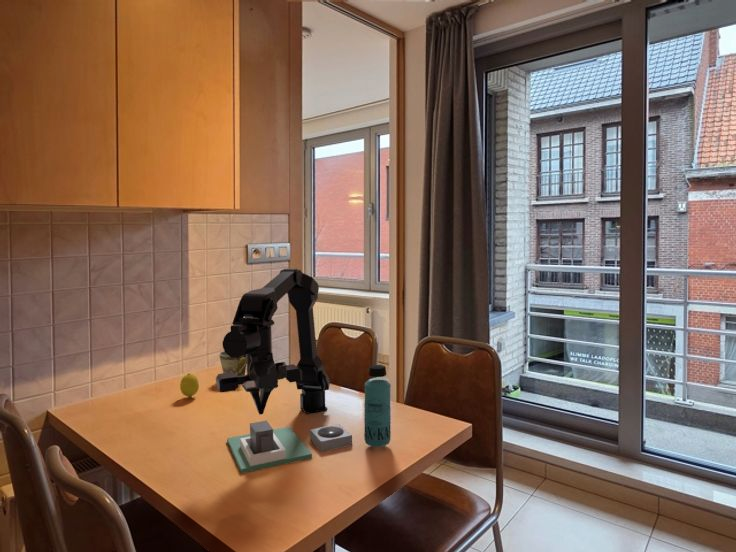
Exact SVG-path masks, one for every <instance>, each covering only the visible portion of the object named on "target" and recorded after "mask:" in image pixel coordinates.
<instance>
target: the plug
mask: <svg viewBox="0 0 736 552" xmlns="http://www.w3.org/2000/svg"><path fill="white" fill-rule="evenodd" d="M249 434H250V443H251V450H252V451H253V453H254V454H258V453H263V452H268V451H273V450H274V444H273V427H272V426H271V424H270V423H269V422H268V420H262V421H254V422H250V423H249Z"/></svg>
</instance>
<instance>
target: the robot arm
mask: <svg viewBox="0 0 736 552" xmlns="http://www.w3.org/2000/svg"><path fill="white" fill-rule="evenodd" d="M319 290H320V287H319V284H318V282H317V281H316V279H314V277H312V276H311V275H308V274H306V273H304V272H303V271H302V270H301V269H299V268H283V269H281V270H280V272H279V273H278V274H277V275H276V276H274V278H272V279H271V280H270V281H269V282H267V283H266V284H265V285H264V286H263V287H260V288H257V289H253V290H250V291H247V292H245V293H244V294H243V295H242V296H241V298H240V300H239V303H238V306H237V307H236V311H235V313H234V314H235V315H234V317H233V319H232V325H230V331H229V332H227V333H226V334H225V335H224V337H223V341H222V348H223V351H225V353H226V354H227V355H228V356H230V357H232V358H239V357H241V356H244V355H246V360H247V364H246V374H245V375H241V376H236V374H235V373H234V372H230V373H223V372H222V373H217V375H216V377H215V385H216V388H217V390H218V392H220V393H227V392H228V393H229V392H235V391H236V390H237V389H238V388H239V385H241V386H242V388H243V389H244V391H245V392H247V393H250V395H251V397H252V400H253V402H254V405H255V408H256V410H257V412H258V413H257V414H259V415H263V414H264V412H265V410H266V409H265V408H266V407H267V403H268V400H269V398H270V396H271V393H272V392H273V390H274V389H277V388H278V387H279V380H284V379H286V381H287V382H289V383H290V384H291V383H295V385H296V389H297V391H299V390H301V393H300V395H299V396H300V397H299V400H300V402H299V403H300V404H299V405H300V408H301V409H302V410H303V411H304V412H305V413H306V414H311V413H312V414H313V413H317V412H318V413H319V412H323V411H324V412H325V411H327V410H328V407H327V406H326V391H328V390H330V382H331V381H330V378H329V376H328V374H327V372H326V370H325V366H324V362H323V361H322V360H321V359H320V357H319V355H318V351H317V340H316V330H315V329H316V328H315V320H314V319H315V318H314V306H315V304H316V302H317V301H318V298H319V296H318V295H319V294H318V293H319ZM285 295H287V297H288V302H289V304H290V305H291V306H292V308H293V309H294V310H295V315H296V327H297V336H298V347H299V358H300V359H299V361H298V362H297V365H296V364H292V363H291V364H286V361H281V362H275V361H274V356H273V355H274V353H273V346H272V344H273V343H272V326H274V325H275V321H274V320H273V316H274V315H275V313H276V312H277V310H278V307H279V306H278V302H279V301H280V300H281V299H282V298H283V297H284V296H285Z"/></svg>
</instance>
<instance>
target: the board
mask: <svg viewBox="0 0 736 552" xmlns="http://www.w3.org/2000/svg"><path fill="white" fill-rule="evenodd" d="M226 441H227V445H228V444H229V445H228V447H229V446H230V447H229V450H230V451H231V453H233V454H232V456H233V458H234V461H235V463H236V462H237V463H236V464H237V465H236V466H237V467H238V469H239V471H240V474H241V473H242V474H246V472H247V473H250V472H256V471H260V470H264V469H268V468H273V467H279V466H282V465H283V466H284V465H287V464H292V463H296V462H300V461H305V460H311V459H313V453H312V452H311V451H310V449H309V448H308V447H307V445H305V443H304V442H303V441H302V440H301V438H300V437H299V436H298V435H297V434H296V432H295V431H294V430H293V429H292V428H291V426H283V427H280V428H274V429H273V444H274V450H273V451H268V452H263V453H258V454H254V453H253V451H252V450H251V443H250V433H247V434H241V435H236V436H231V437H226Z"/></svg>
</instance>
